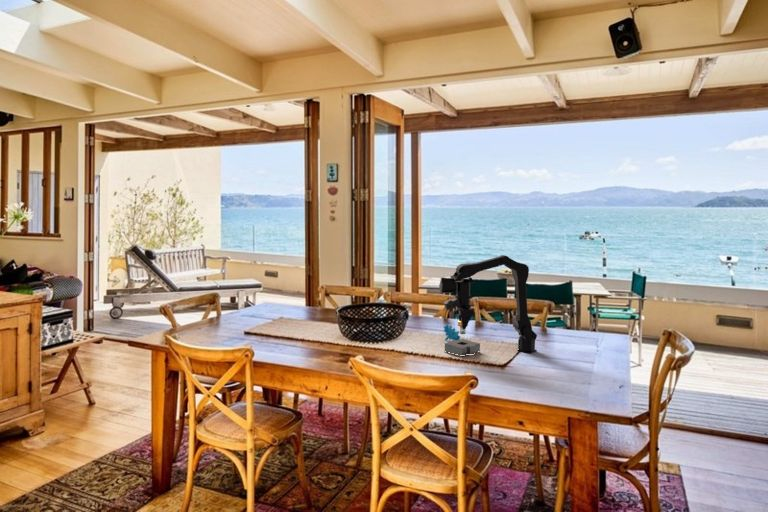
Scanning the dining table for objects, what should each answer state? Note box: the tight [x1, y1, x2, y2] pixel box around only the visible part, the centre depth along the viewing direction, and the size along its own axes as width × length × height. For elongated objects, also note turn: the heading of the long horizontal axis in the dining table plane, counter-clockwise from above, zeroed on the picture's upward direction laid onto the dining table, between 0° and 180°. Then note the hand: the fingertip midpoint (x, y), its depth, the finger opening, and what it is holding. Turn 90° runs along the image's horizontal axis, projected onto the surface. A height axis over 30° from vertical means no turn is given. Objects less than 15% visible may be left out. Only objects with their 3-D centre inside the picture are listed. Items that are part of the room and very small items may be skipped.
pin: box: [457, 319, 469, 335], centre depth 216 cm, size 4×4×6 cm
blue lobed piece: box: [443, 324, 461, 341], centre depth 237 cm, size 11×6×10 cm
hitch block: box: [444, 338, 481, 355], centre depth 217 cm, size 12×12×4 cm
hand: (462, 327), depth 216 cm, fingers closed on pin, 4 cm apart
